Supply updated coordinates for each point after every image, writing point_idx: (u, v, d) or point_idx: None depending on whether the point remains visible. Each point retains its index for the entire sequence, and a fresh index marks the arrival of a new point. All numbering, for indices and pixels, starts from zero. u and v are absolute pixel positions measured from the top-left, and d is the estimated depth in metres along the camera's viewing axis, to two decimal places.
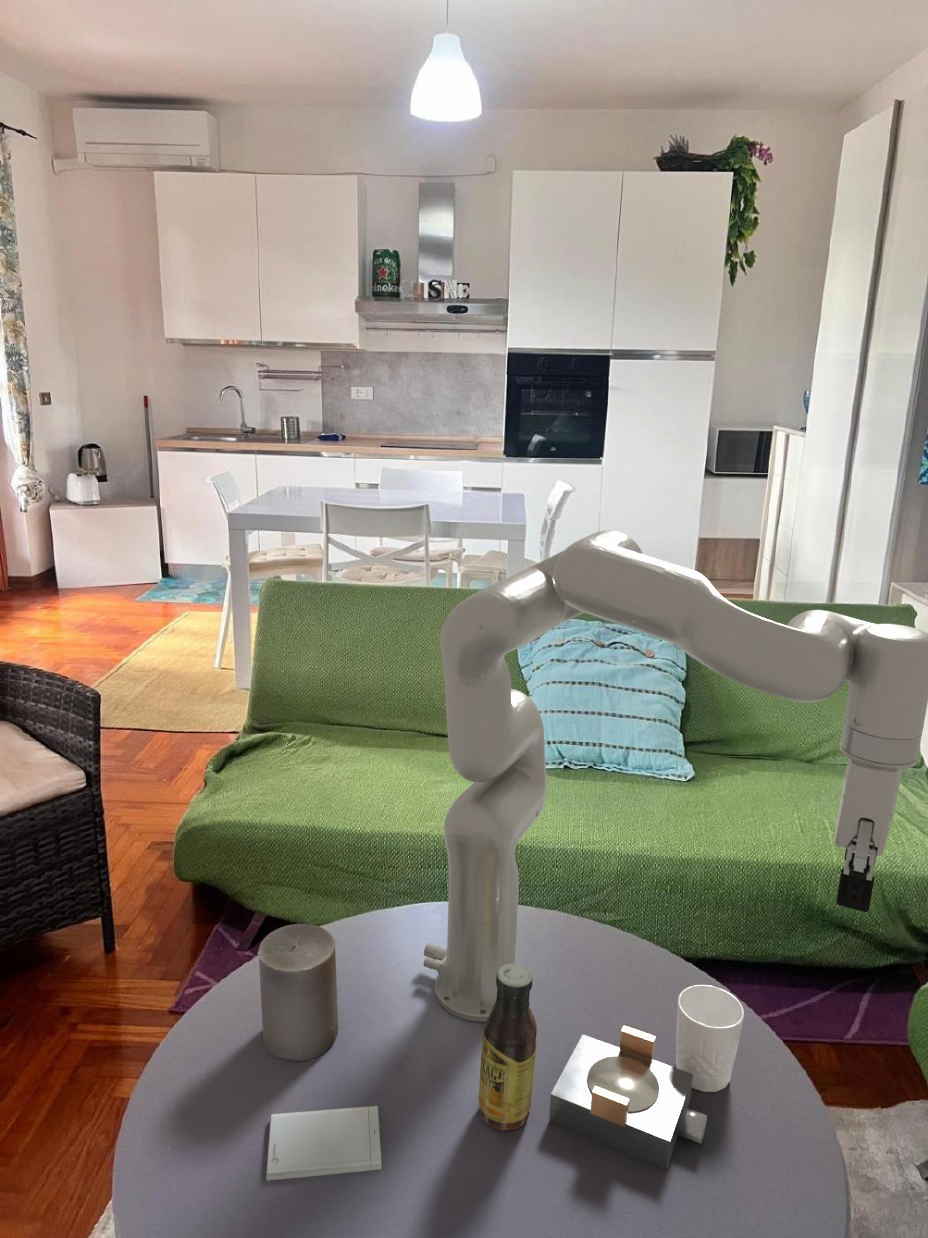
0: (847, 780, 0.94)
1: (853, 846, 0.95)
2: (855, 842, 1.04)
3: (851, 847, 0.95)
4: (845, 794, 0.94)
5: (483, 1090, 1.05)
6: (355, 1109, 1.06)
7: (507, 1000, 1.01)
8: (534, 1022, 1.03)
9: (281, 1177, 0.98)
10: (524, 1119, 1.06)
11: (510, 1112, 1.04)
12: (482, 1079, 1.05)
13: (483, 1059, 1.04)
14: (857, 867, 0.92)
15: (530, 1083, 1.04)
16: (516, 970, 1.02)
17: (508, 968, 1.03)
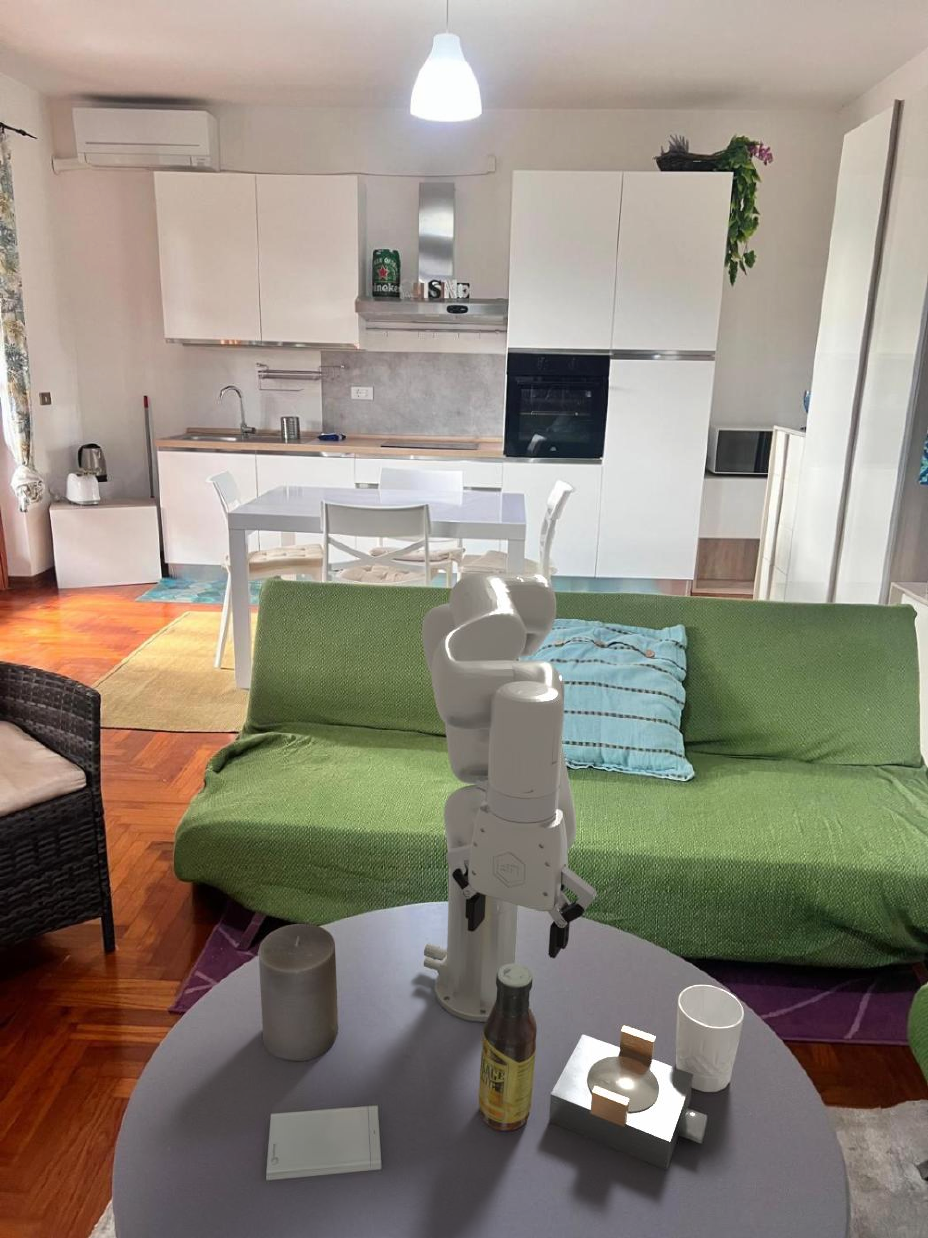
0: (549, 846, 0.93)
1: None
2: (477, 907, 1.01)
3: None
4: (552, 859, 0.93)
5: (483, 1090, 1.05)
6: (355, 1109, 1.06)
7: (507, 1000, 1.01)
8: (534, 1022, 1.03)
9: (281, 1176, 0.98)
10: (524, 1119, 1.06)
11: (510, 1112, 1.04)
12: (482, 1079, 1.05)
13: (483, 1059, 1.04)
14: (586, 908, 0.96)
15: (530, 1083, 1.04)
16: (516, 970, 1.02)
17: (508, 968, 1.03)
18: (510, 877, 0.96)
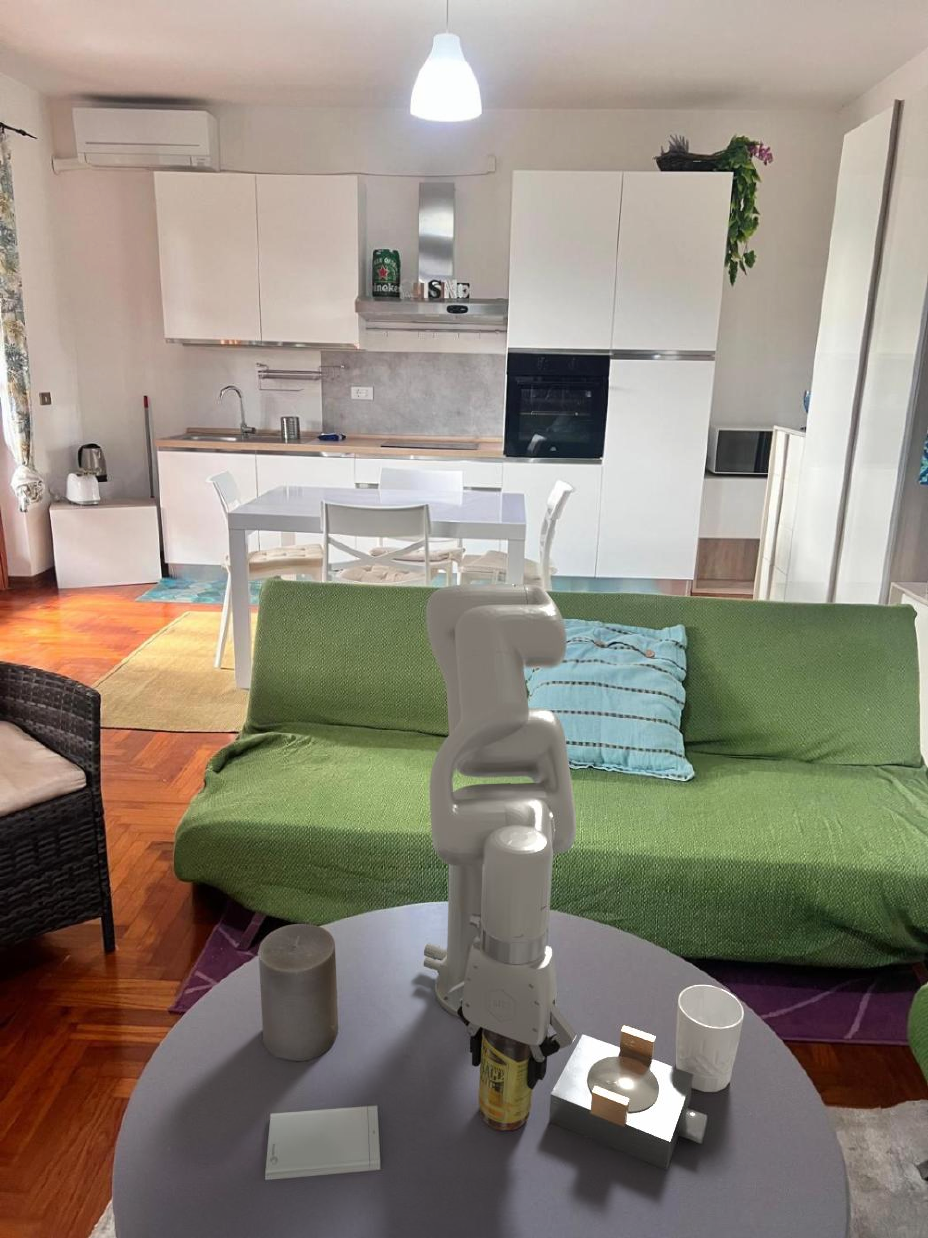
0: (538, 986, 0.98)
1: None
2: (481, 1044, 1.06)
3: None
4: (541, 998, 0.98)
5: (483, 1090, 1.05)
6: (354, 1109, 1.06)
7: None
8: None
9: (280, 1176, 0.98)
10: (524, 1119, 1.06)
11: (510, 1112, 1.04)
12: (482, 1079, 1.05)
13: (482, 1059, 1.04)
14: None
15: None
16: None
17: None
18: (502, 1012, 1.00)
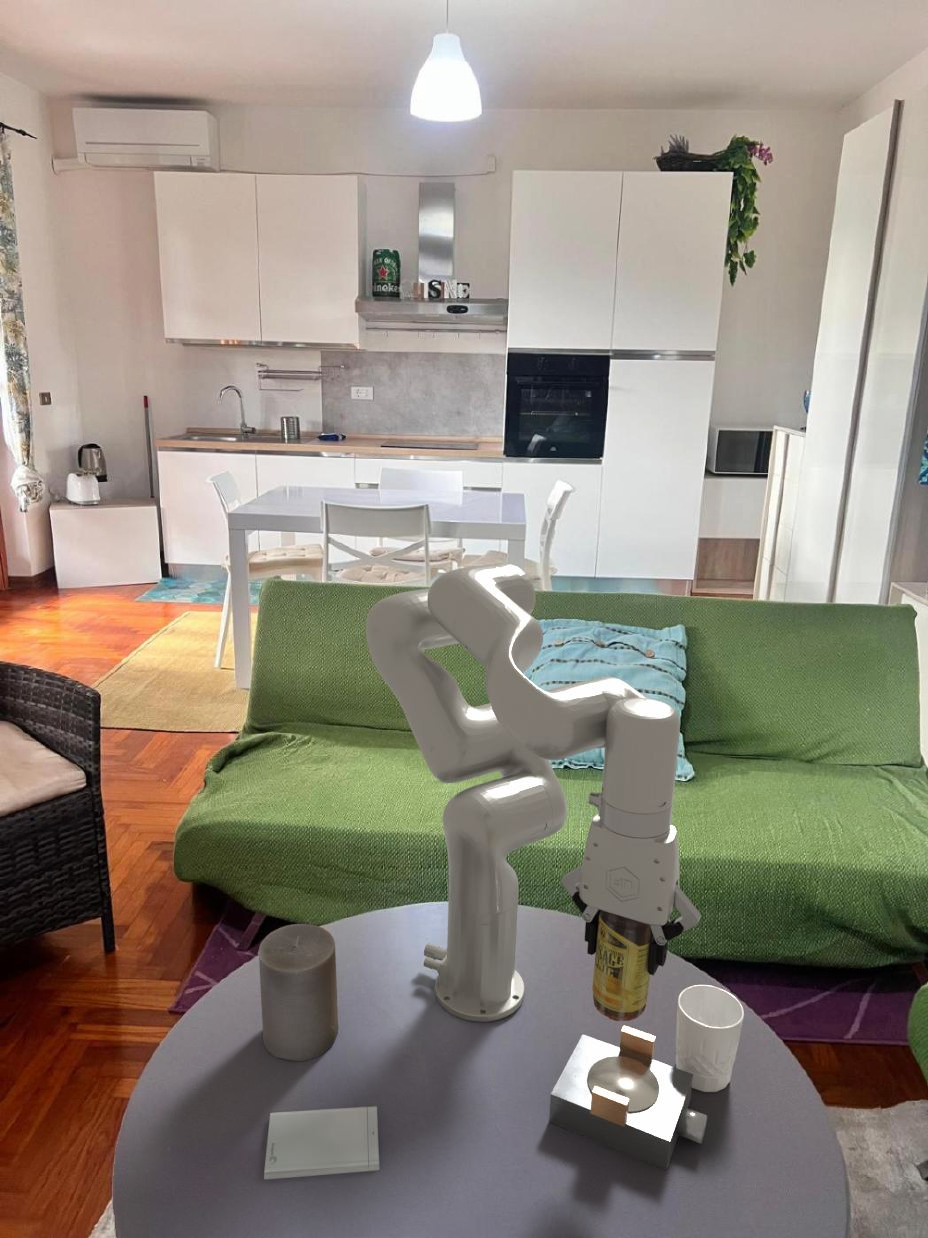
0: (664, 861, 0.94)
1: None
2: (597, 931, 1.02)
3: None
4: (667, 874, 0.94)
5: (600, 978, 1.01)
6: (354, 1109, 1.06)
7: None
8: None
9: (278, 1176, 0.98)
10: (641, 1010, 1.02)
11: (628, 1000, 1.00)
12: (598, 967, 1.01)
13: (599, 945, 1.00)
14: None
15: None
16: None
17: None
18: (623, 891, 0.97)
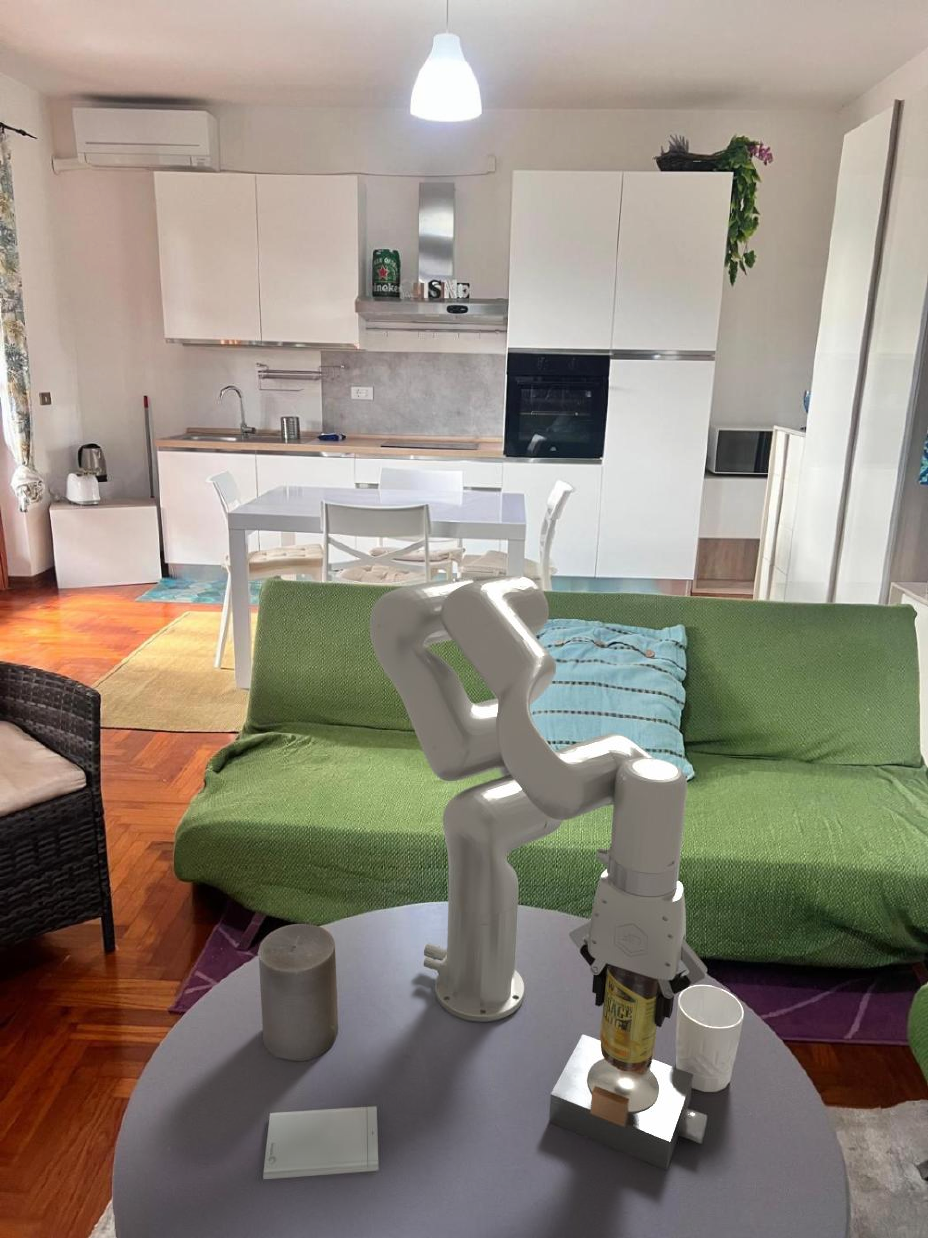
0: (672, 918, 0.96)
1: None
2: (604, 983, 1.04)
3: None
4: (675, 931, 0.97)
5: (608, 1029, 1.03)
6: (354, 1109, 1.06)
7: None
8: None
9: (278, 1176, 0.98)
10: (648, 1059, 1.04)
11: (636, 1051, 1.02)
12: (606, 1018, 1.03)
13: (608, 998, 1.02)
14: None
15: None
16: None
17: None
18: (632, 947, 0.99)
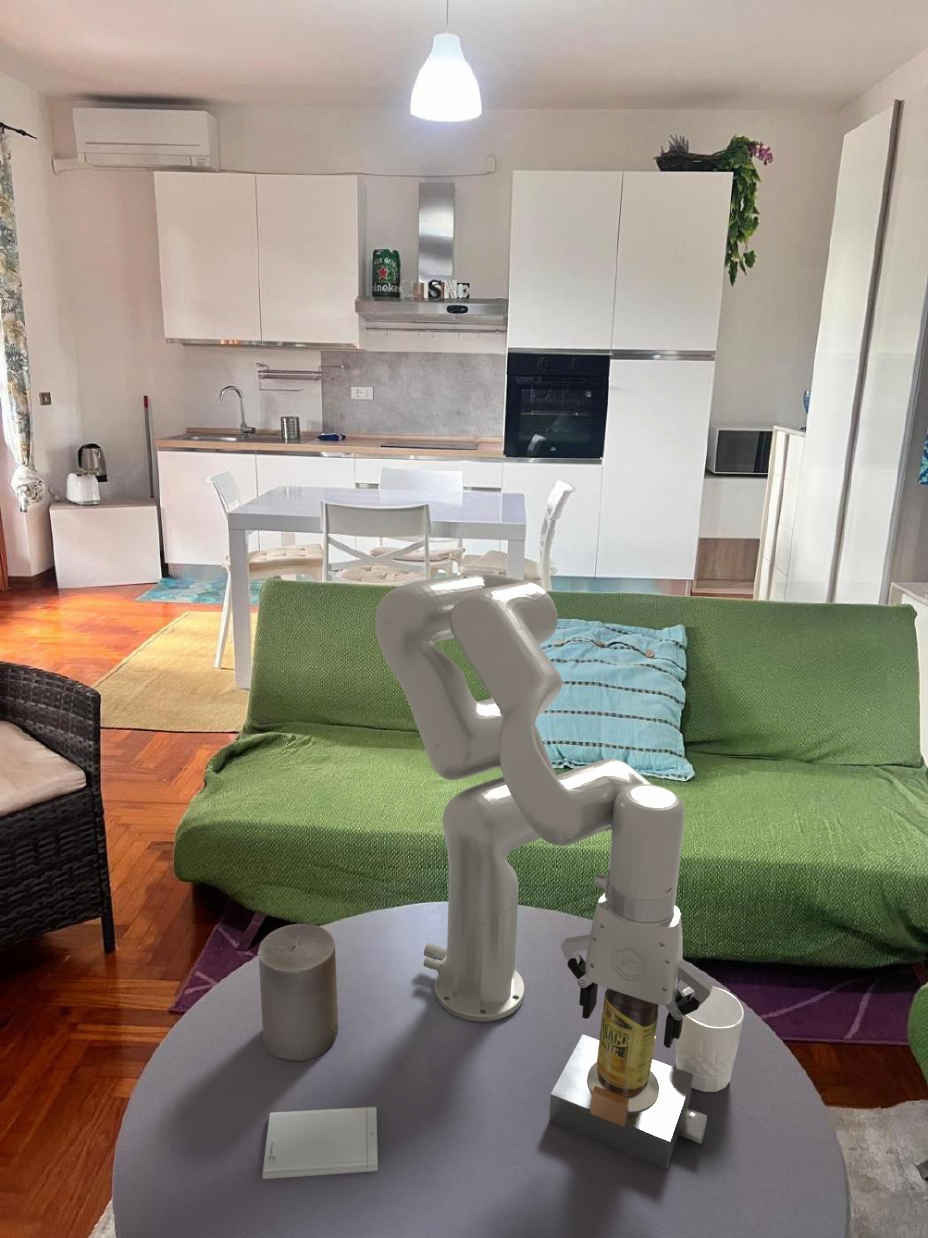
0: (669, 944, 0.97)
1: None
2: (591, 996, 1.05)
3: None
4: (672, 956, 0.98)
5: (605, 1056, 1.04)
6: (353, 1109, 1.06)
7: None
8: None
9: (277, 1175, 0.98)
10: (644, 1086, 1.05)
11: (633, 1078, 1.04)
12: (603, 1045, 1.05)
13: (605, 1024, 1.04)
14: (701, 1002, 1.00)
15: (652, 1049, 1.04)
16: None
17: None
18: (629, 971, 1.00)
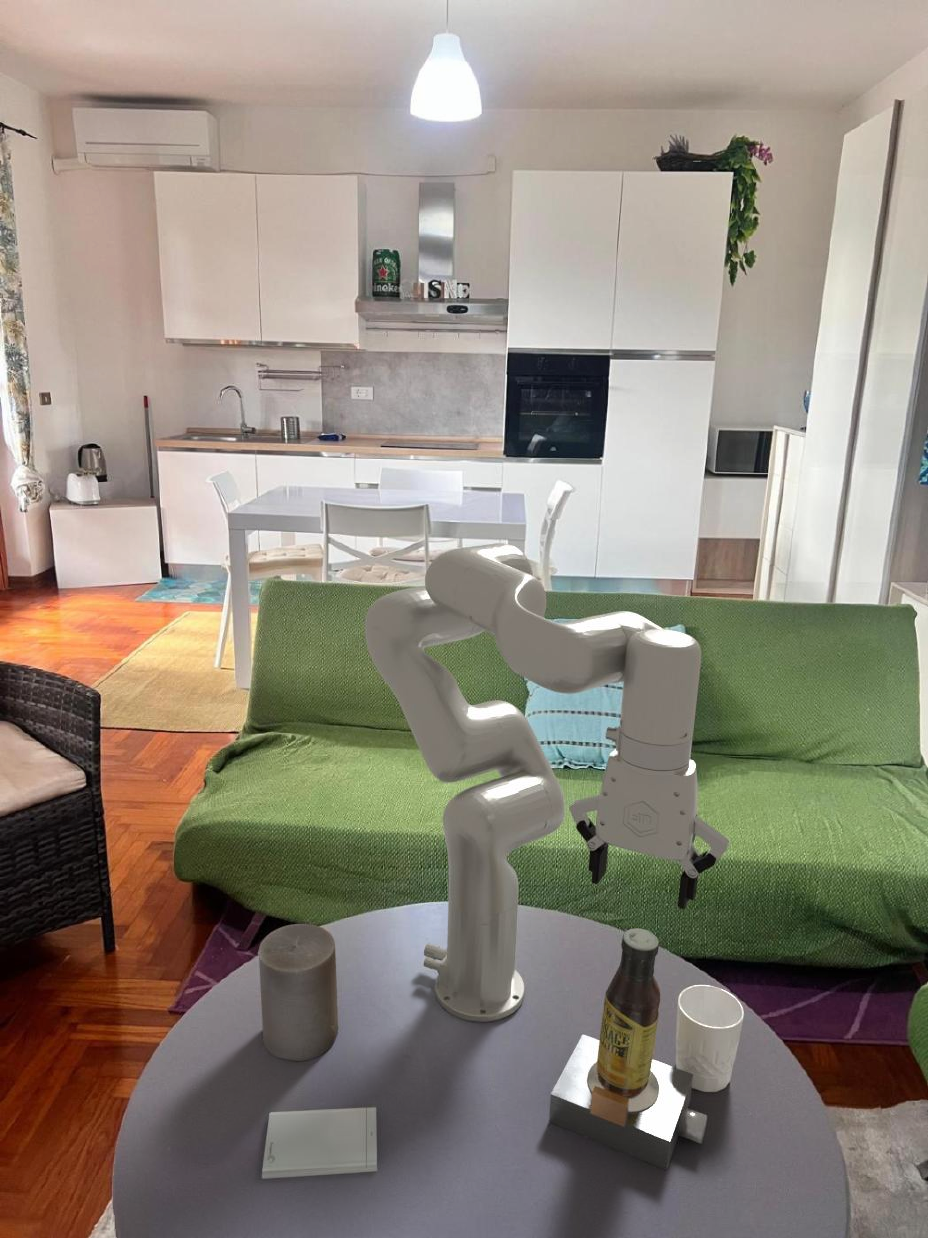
0: (684, 794, 0.92)
1: None
2: (601, 860, 1.01)
3: None
4: (687, 807, 0.93)
5: (605, 1055, 1.04)
6: (353, 1110, 1.06)
7: (634, 963, 1.01)
8: (658, 987, 1.03)
9: (276, 1175, 0.98)
10: (644, 1086, 1.05)
11: (633, 1078, 1.04)
12: (603, 1045, 1.05)
13: (605, 1024, 1.04)
14: None
15: (652, 1049, 1.04)
16: (641, 934, 1.02)
17: (633, 932, 1.03)
18: (641, 826, 0.95)
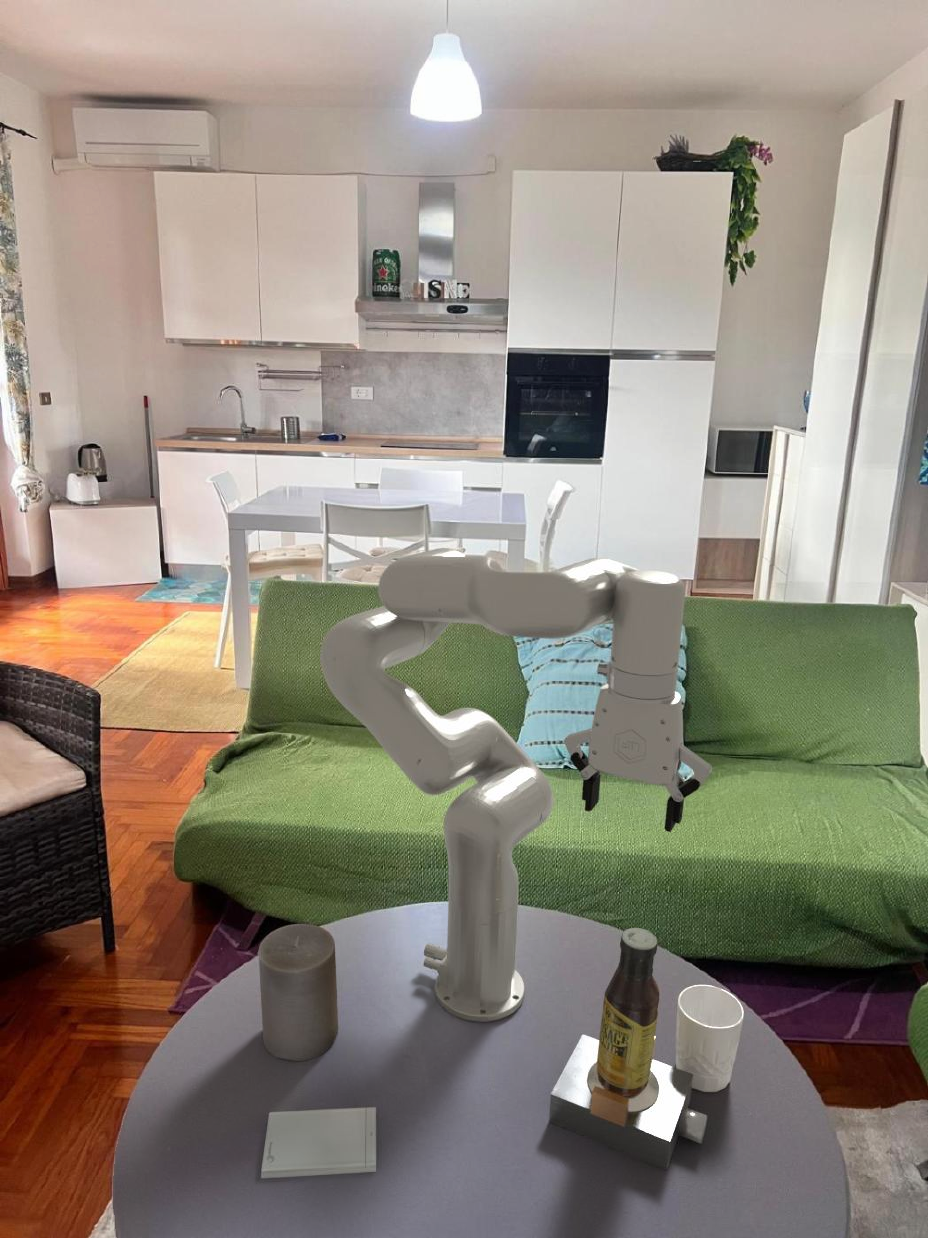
0: (670, 721, 1.00)
1: None
2: (594, 788, 1.08)
3: None
4: (673, 734, 1.00)
5: (605, 1055, 1.04)
6: (353, 1110, 1.06)
7: (633, 963, 1.01)
8: (657, 987, 1.03)
9: (275, 1175, 0.98)
10: (644, 1086, 1.05)
11: (632, 1077, 1.04)
12: (603, 1044, 1.05)
13: (605, 1024, 1.04)
14: None
15: (652, 1049, 1.04)
16: (640, 934, 1.02)
17: (632, 932, 1.03)
18: (631, 754, 1.02)
